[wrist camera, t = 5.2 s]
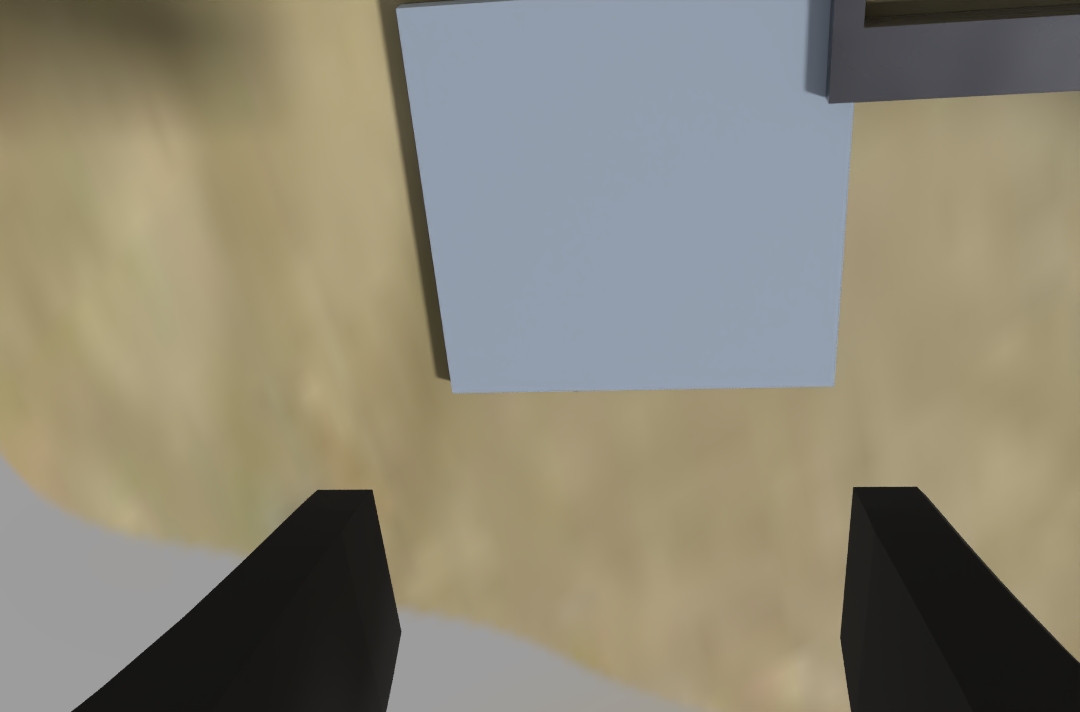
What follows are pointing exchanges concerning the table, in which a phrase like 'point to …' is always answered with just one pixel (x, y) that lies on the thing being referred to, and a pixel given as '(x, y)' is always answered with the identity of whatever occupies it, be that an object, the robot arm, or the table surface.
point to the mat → (630, 191)
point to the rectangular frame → (951, 53)
